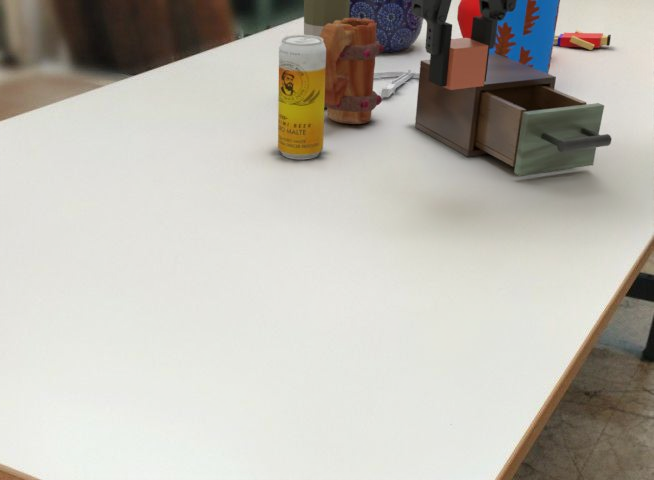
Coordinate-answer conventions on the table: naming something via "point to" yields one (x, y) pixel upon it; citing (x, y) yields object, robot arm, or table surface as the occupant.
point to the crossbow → (397, 82)
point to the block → (466, 64)
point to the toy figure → (582, 40)
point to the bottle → (323, 14)
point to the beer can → (301, 96)
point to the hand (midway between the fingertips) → (457, 80)
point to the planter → (389, 21)
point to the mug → (350, 69)
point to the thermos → (528, 33)
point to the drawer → (538, 128)
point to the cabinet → (467, 101)
